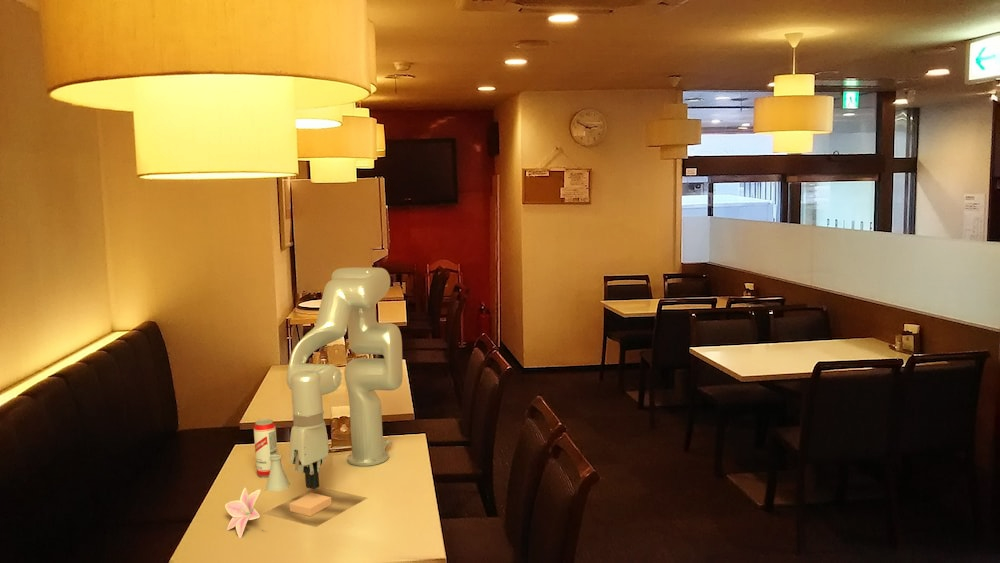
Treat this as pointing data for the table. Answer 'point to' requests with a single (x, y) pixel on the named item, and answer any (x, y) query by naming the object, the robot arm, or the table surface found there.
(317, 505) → the tile
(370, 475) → the table surface
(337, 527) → the table surface
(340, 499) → the board
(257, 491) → the lily
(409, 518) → the table surface
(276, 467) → the flask
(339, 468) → the table surface
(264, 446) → the beer can
